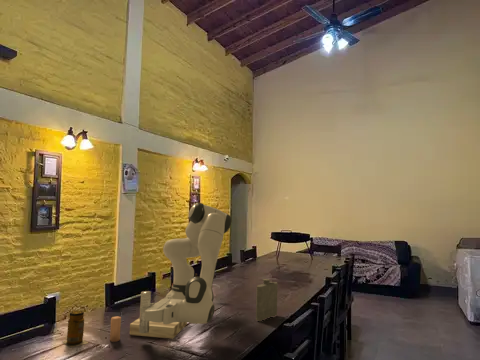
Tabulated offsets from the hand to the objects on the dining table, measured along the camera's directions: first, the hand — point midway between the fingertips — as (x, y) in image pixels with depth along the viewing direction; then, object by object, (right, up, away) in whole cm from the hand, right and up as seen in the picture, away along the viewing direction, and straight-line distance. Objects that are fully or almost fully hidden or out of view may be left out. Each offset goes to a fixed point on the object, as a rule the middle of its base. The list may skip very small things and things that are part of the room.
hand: (143, 307), depth 148 cm
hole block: (+3, -16, +15) cm, 22 cm away
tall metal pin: (0, -10, -1) cm, 10 cm away
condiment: (-27, -13, -4) cm, 30 cm away
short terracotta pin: (-12, -14, 0) cm, 18 cm away
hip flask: (+54, -19, +36) cm, 68 cm away
